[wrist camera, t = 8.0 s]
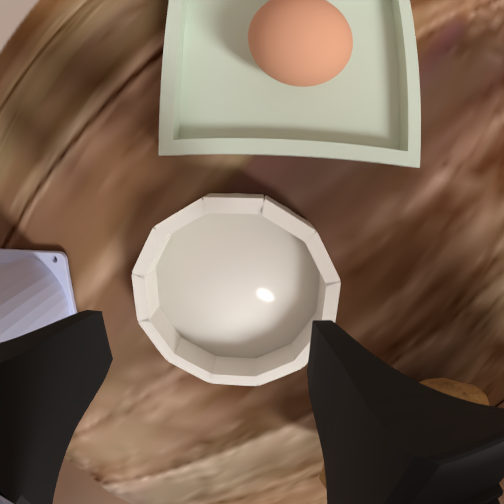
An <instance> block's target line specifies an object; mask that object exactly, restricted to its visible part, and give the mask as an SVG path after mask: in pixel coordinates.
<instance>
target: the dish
mask: <svg viewBox="0 0 504 504" xmlns="http://www.w3.org/2000/svg"><path fill="white" fill-rule="evenodd" d="M340 281H341V280H340V278H339V276H338V274H337V272H336V270H335V268H334V265H333V263H332V261H331V259H330V257H329V255H328V253H327V251H326V249H325V247H324V245H323V243H322V241H321V239H320V236H319V234H318V232H317V231H316V230H315V228H314V227H313V225H312V224H311V223H310V222H308V221H307V220H305V219H304V218H302V217H300V216H299V215H297V214H296V213H294V212H293V211H291V210H290V209H289V208H287V207H285V206H283V205H281V204H280V203H278V202H276V201H275V200H273V199H272V198H270V197H268V196H267V195H265V197H264V194H243V193H228V194H223V193H210V194H207V195H206V196H204V197H202V198H200V199H199V200H197V201H195V202H193V203H192V204H190V205H188V206H187V207H185V208H183V209H182V210H180V211H178V212H177V213H175V214H173V215H172V216H170V217H168V218H167V219H165V220H164V221H162V222H160V223H159V224H157V225H155V226H154V227H153V228H152V230H151V232H150V235H149V237H148V239H147V241H146V243H145V245H144V247H143V249H142V251H141V253H140V256H139V258H138V260H137V262H136V264H135V266H134V269H133V271H132V283H133V291H134V299H135V306H136V313H137V320H138V321H139V322H138V323H139V324H140V326H141V327H142V328H143V330H144V331H145V332H146V334H147V335H148V337H149V338H150V339H151V341H152V342H153V343H154V345H155V346H156V347H157V349H158V350H159V351H160V353H161V354H162V355H163V357H164V358H165V359H166V360H167V359H168V360H167V361H168V362H170V363H172V364H174V365H176V366H178V367H179V368H181V369H183V370H185V371H187V372H189V373H191V374H193V375H195V376H196V377H198V378H200V379H202V380H204V381H206V382H208V383H209V382H210V383H215V384H229V385H246V386H257V384H258V385H262V384H265V383H267V382H270V381H272V380H275V379H278V378H280V377H283V376H285V375H288V374H290V373H292V372H295V371H297V370H300V369H302V367H304V366H305V365H306V364H307V363H308V359H309V350H310V341H311V332H312V321H313V320H332V321H333V322H335V321H336V314H337V307H338V300H339V293H340V285H341V282H340Z"/></svg>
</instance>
